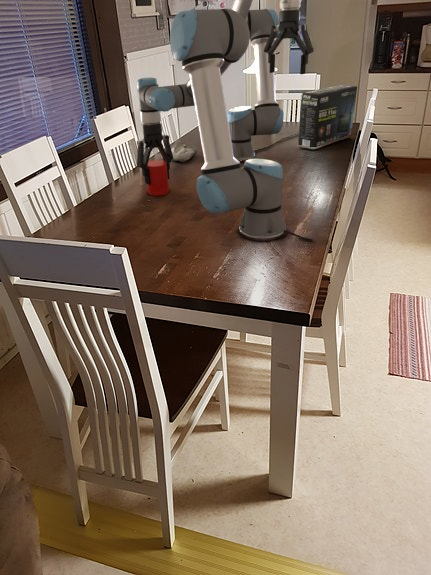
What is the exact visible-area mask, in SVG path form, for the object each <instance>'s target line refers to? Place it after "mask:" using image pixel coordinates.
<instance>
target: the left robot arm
mask: <svg viewBox="0 0 431 575" xmlns="http://www.w3.org/2000/svg"><path fill="white" fill-rule="evenodd" d="M301 1H302V0H279V9H280V10H279V13H277V11H276V10H275V9H272V8H270V9H269V8H264V9H261V8H260V9H251V7H252V5H253V2H254V0H232V3H231V6H230V8H229V9H231V10H234V11H236V12H238V13H239V14H240V15H241V16H242V17H243V18H244V19H245V21H246V22H247V25H248V27H249V32H250V40H249V41H250V46H252V47H253V50H254V65H255V66H254V67H255V83H256V84H255V85H256V103H255V104H254V106H253V108H254V109H252V107H251V106H249V105H248V106H246V105H245V106H238V107H234V108H231V109H229V110H228V111H227V117H228V123H229V130H230V136H231V142H232V149H233V155H234V158H235V159H237V160H238V161H239V162H240V163H245V161H246V160H247V159H251V158H252V159H256V152H260V151H263V150H265V149H267V148H266V146H263V147H264V148H263V147H260V148H261V149H260V148H257V149H258V150H256V149H254V147H253V143H252V136H253V137H254V136H268V135H269V136H272V135H277V134H279V133H280V132H281V130H282V127H283V125H284V116H285V115H284V114H285V113H284V109H283V108H282V107H280V103H279V102H278V101H277V100H276V83H275V73H276V72H275V71H276V53H275V51H276V50H277V48H278V47H279V46H280V44H281V42H282V41H283V40H284V39H285V40H286V39H290V40H291V39H292V40H294V41H295V43H296V45H297V47H298V48H299V50H300V51H301V53H302V55H300V71H299V75H305V74H306V68H307V65H308V64H309V55H310V54H312V53H314V46H313V44H312V40H311V38H310V35H309V32H308V25H307V24H300V19H301V11H300V8H301ZM299 31H300V33H301V35H300V33H299ZM254 150H255V151H254ZM254 156H255V157H254ZM253 157H254V158H253ZM240 160H242V161H240Z"/></svg>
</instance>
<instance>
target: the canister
mask: <svg viewBox="0 0 431 575" xmlns="http://www.w3.org/2000/svg"><path fill="white" fill-rule="evenodd" d="M147 168H149V173H150V182H151V184H150V185H148V184H146V186H147V193H148V195H150V196H154V197H157V196H165V195H167V194H169V193H170V187H169V186H170V185H169V179H168V174H167V163H166V162H165V161H164V160H151V161H150V160H149V162H148V165H147Z"/></svg>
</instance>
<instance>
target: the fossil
mask: <svg viewBox="0 0 431 575" xmlns="http://www.w3.org/2000/svg"><path fill="white" fill-rule="evenodd" d="M164 150H165V149H164ZM171 150H172V154H173V160H172V161H174V162H177V161H179V162H180V163H185V162H187V161H188V160H190V159H191V158H192V157H193V156H194V155H197V154H198V153H199V150H198V148H197V146H195V145H188V146H187V145H186V143H184V142H183V143H181V142H176V143H175V145H174V146H173V147H171ZM165 152H166V150H165ZM161 158H162V159H163V157H162V156H161Z"/></svg>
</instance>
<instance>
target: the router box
mask: <svg viewBox="0 0 431 575" xmlns="http://www.w3.org/2000/svg"><path fill="white" fill-rule="evenodd" d="M357 93H358V86H356V85H350V84H339V85H338V84H337V85H334V86H328V87H324V88H318V89H314V90H309V91H304V92H301V93H300V109H299V110H300V111H299V124H298V133H299V134H298V135H297V136H298V137H297V146H298V145H302V146H307V147H317V146H320V145H323V144H325V143H328V142H331V141H333V140H336V139H338V138H341V137H344V136H347V135H351V136H352V133H353V132H352V131H353V125H354V115H355V109H356V99H357ZM311 151H313V150H312V149H311Z"/></svg>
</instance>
